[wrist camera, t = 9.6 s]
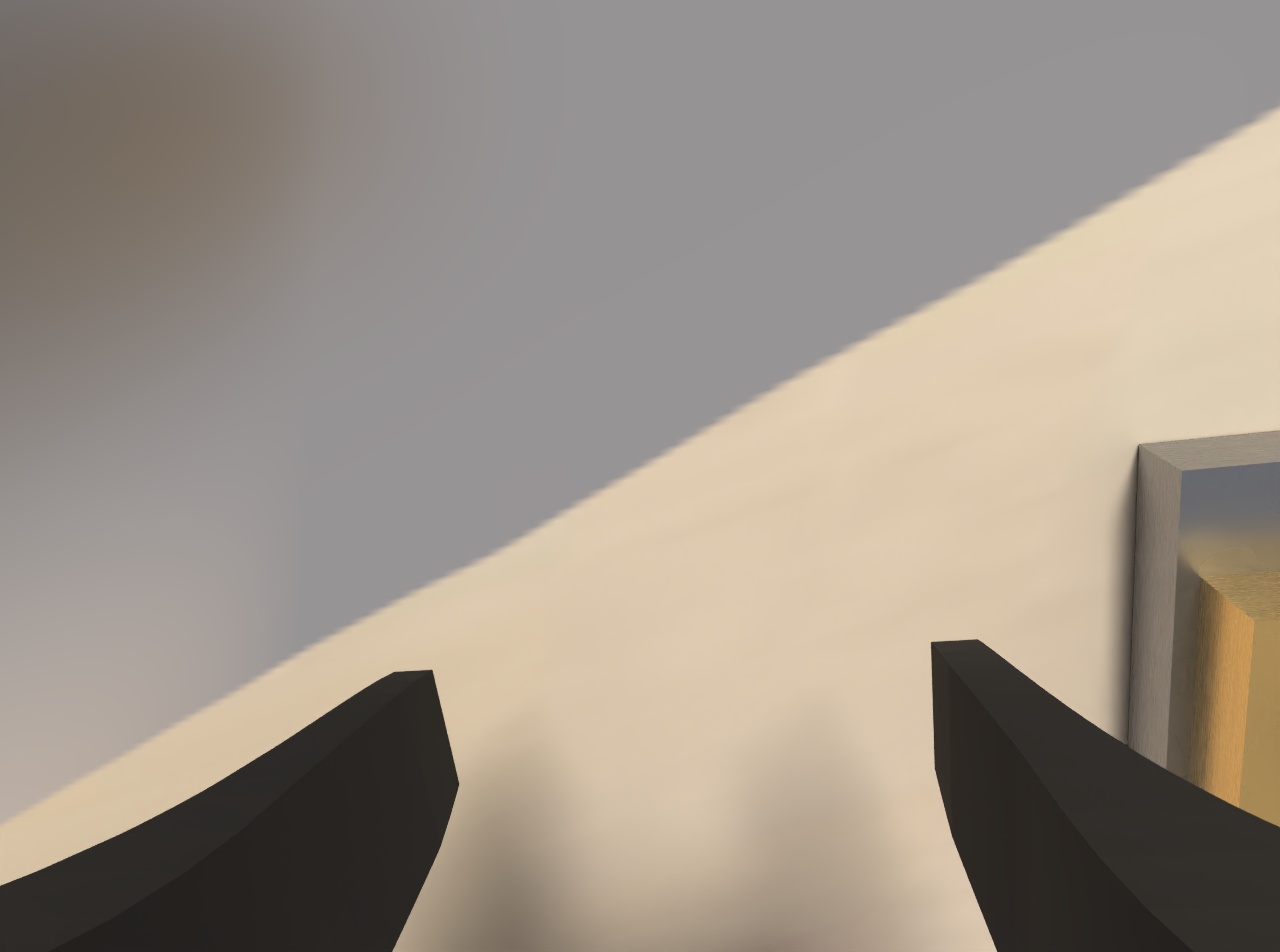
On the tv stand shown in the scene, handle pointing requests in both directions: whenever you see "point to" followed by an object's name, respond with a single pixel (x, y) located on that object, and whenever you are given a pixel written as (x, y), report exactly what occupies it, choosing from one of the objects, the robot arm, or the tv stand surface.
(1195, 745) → the grey piece
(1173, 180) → the tv stand surface
